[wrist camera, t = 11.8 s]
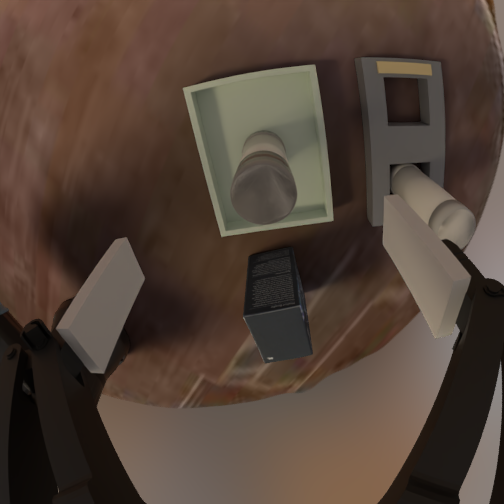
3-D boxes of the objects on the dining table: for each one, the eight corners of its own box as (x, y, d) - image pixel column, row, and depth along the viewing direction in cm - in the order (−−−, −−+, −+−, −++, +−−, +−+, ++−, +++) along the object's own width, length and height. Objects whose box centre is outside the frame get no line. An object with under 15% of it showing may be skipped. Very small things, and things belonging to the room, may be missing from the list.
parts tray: (329, 210, 32) (333, 220, 30) (224, 225, 34) (221, 236, 32) (310, 65, 24) (315, 64, 22) (189, 87, 25) (182, 88, 23)
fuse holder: (432, 209, 31) (441, 219, 29) (367, 217, 33) (373, 228, 30) (430, 61, 22) (442, 61, 20) (354, 58, 23) (361, 57, 21)
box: (305, 292, 39) (313, 356, 30) (264, 301, 40) (262, 364, 31) (293, 244, 35) (301, 306, 26) (247, 254, 36) (241, 317, 27)
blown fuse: (247, 173, 30) (237, 229, 20) (239, 134, 28) (223, 169, 18) (288, 166, 29) (301, 220, 19) (281, 127, 27) (292, 158, 17)
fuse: (385, 196, 31) (432, 256, 21) (385, 161, 29) (439, 210, 19) (417, 193, 30) (470, 249, 20) (418, 159, 28) (479, 206, 18)
